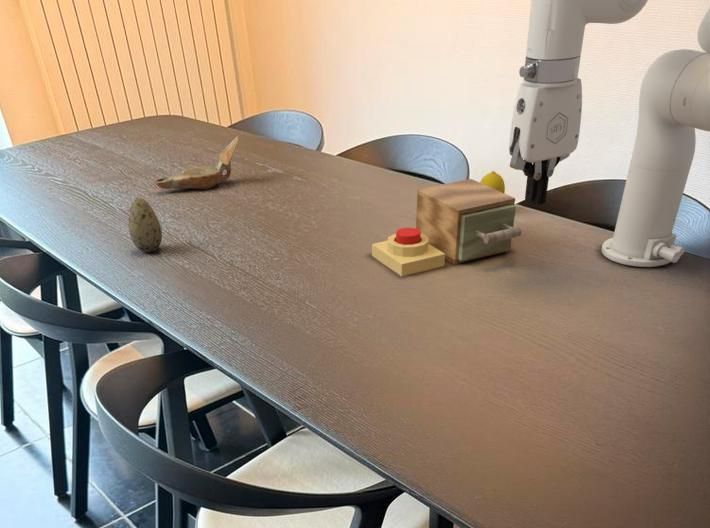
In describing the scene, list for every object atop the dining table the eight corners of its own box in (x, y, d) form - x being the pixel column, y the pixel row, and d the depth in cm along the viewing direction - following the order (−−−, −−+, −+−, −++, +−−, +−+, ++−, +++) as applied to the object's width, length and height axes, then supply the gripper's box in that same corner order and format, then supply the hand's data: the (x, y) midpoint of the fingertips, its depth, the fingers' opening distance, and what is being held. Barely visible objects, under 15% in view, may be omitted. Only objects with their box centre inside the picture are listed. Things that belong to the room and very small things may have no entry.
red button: (424, 243, 120) (425, 233, 119) (403, 247, 119) (403, 238, 118) (412, 235, 123) (412, 225, 122) (391, 240, 122) (391, 230, 121)
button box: (444, 266, 121) (445, 244, 119) (401, 276, 118) (402, 254, 116) (412, 246, 129) (413, 225, 126) (371, 255, 126) (371, 234, 123)
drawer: (526, 257, 121) (532, 213, 116) (476, 270, 117) (480, 225, 112) (471, 228, 132) (475, 187, 127) (424, 239, 129) (426, 197, 124)
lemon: (501, 216, 140) (506, 175, 135) (475, 215, 141) (478, 174, 136) (502, 207, 144) (507, 167, 139) (476, 206, 145) (480, 167, 140)
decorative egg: (128, 255, 130) (115, 201, 123) (145, 244, 134) (133, 191, 127) (154, 258, 128) (142, 204, 121) (171, 247, 132) (160, 194, 126)
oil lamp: (248, 185, 161) (243, 139, 155) (160, 199, 155) (151, 152, 148) (238, 175, 167) (232, 131, 161) (152, 189, 161) (143, 143, 154)
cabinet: (508, 251, 125) (515, 198, 119) (454, 264, 122) (458, 210, 115) (466, 229, 135) (471, 178, 129) (415, 240, 131) (417, 189, 125)
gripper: (525, 82, 91) (511, 219, 103) (610, 66, 95) (587, 199, 107) (492, 74, 96) (482, 205, 108) (574, 59, 101) (556, 187, 113)
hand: (534, 202), depth 108 cm, fingers closed
